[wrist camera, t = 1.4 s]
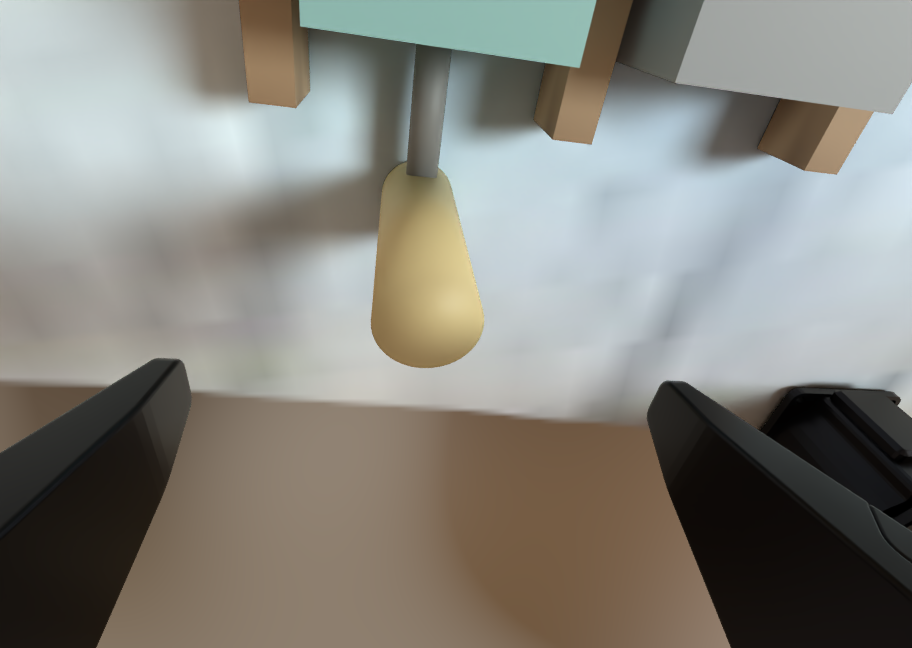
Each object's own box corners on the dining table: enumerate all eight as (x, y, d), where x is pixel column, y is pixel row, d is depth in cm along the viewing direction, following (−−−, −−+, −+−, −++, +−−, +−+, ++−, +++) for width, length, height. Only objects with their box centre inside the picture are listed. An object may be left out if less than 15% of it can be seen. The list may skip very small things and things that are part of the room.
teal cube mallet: (492, 235, 18) (544, 373, 12) (330, 221, 17) (290, 362, 11) (586, -243, 11) (833, -544, 5) (326, -311, 10) (207, -791, 4)
